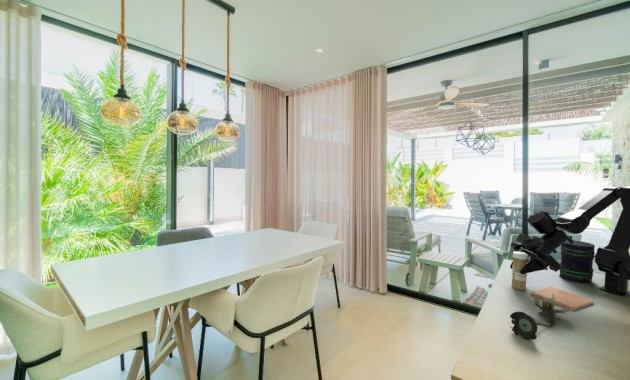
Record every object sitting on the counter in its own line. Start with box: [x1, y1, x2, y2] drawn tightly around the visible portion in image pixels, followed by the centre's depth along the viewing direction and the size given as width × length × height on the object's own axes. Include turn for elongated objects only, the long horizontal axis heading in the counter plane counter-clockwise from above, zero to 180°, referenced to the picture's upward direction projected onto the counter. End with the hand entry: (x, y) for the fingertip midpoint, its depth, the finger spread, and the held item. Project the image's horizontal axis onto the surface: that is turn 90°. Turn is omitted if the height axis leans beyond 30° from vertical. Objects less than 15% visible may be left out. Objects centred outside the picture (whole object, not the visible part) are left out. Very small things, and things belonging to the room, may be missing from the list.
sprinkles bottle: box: [511, 251, 529, 291], centre depth 100 cm, size 5×5×13 cm
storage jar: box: [558, 240, 596, 285], centre depth 108 cm, size 10×10×15 cm
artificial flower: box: [509, 294, 573, 341], centre depth 75 cm, size 9×22×10 cm, turn 114°
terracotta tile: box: [529, 286, 594, 311], centre depth 91 cm, size 12×12×1 cm
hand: (515, 270), depth 100 cm, fingers open, 5 cm apart
